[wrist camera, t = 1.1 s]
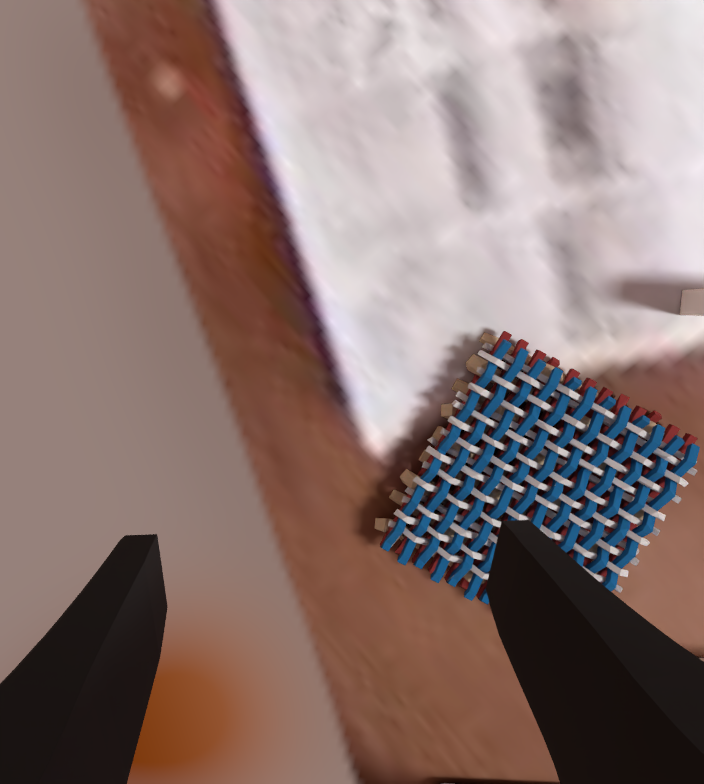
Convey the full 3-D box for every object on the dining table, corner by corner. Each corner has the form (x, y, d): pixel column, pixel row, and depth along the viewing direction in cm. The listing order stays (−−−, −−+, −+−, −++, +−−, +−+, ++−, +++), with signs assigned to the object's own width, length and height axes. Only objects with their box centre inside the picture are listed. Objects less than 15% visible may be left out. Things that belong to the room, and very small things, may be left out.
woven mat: (695, 436, 24) (726, 446, 22) (566, 637, 25) (584, 664, 23) (486, 318, 23) (498, 318, 21) (364, 530, 24) (365, 548, 22)
